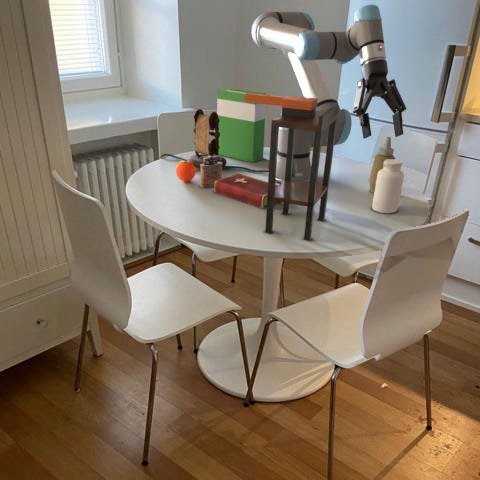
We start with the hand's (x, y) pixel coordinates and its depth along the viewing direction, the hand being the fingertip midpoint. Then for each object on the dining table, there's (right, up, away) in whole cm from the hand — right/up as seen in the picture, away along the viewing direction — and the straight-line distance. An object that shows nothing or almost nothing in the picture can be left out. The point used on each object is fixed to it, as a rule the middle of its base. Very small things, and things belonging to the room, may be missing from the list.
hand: (383, 136), depth 156 cm
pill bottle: (+2, -21, +6) cm, 22 cm away
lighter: (-54, -9, +21) cm, 59 cm away
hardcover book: (-41, -15, +13) cm, 45 cm away
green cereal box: (-44, +13, +52) cm, 69 cm away
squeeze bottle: (+4, -11, +20) cm, 23 cm away
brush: (-34, -3, -22) cm, 40 cm away
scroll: (-57, +4, +39) cm, 69 cm away
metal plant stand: (-28, -29, -7) cm, 41 cm away
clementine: (-64, -6, +25) cm, 69 cm away
